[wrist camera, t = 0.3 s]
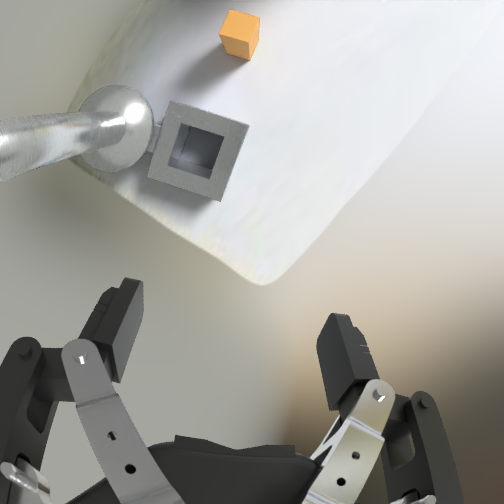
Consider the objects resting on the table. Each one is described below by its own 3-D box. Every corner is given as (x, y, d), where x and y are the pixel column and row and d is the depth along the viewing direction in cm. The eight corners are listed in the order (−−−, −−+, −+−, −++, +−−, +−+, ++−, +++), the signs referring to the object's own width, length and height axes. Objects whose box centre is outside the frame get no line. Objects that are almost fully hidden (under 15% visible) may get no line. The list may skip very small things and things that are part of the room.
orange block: (235, 33, 29) (230, 9, 20) (258, 40, 29) (259, 17, 21) (227, 53, 30) (218, 33, 22) (249, 60, 30) (248, 42, 22)
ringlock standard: (113, 83, 31) (-95, 80, 3) (251, 121, 34) (235, 119, 6) (94, 152, 35) (-97, 239, 7) (223, 193, 38) (152, 393, 10)
